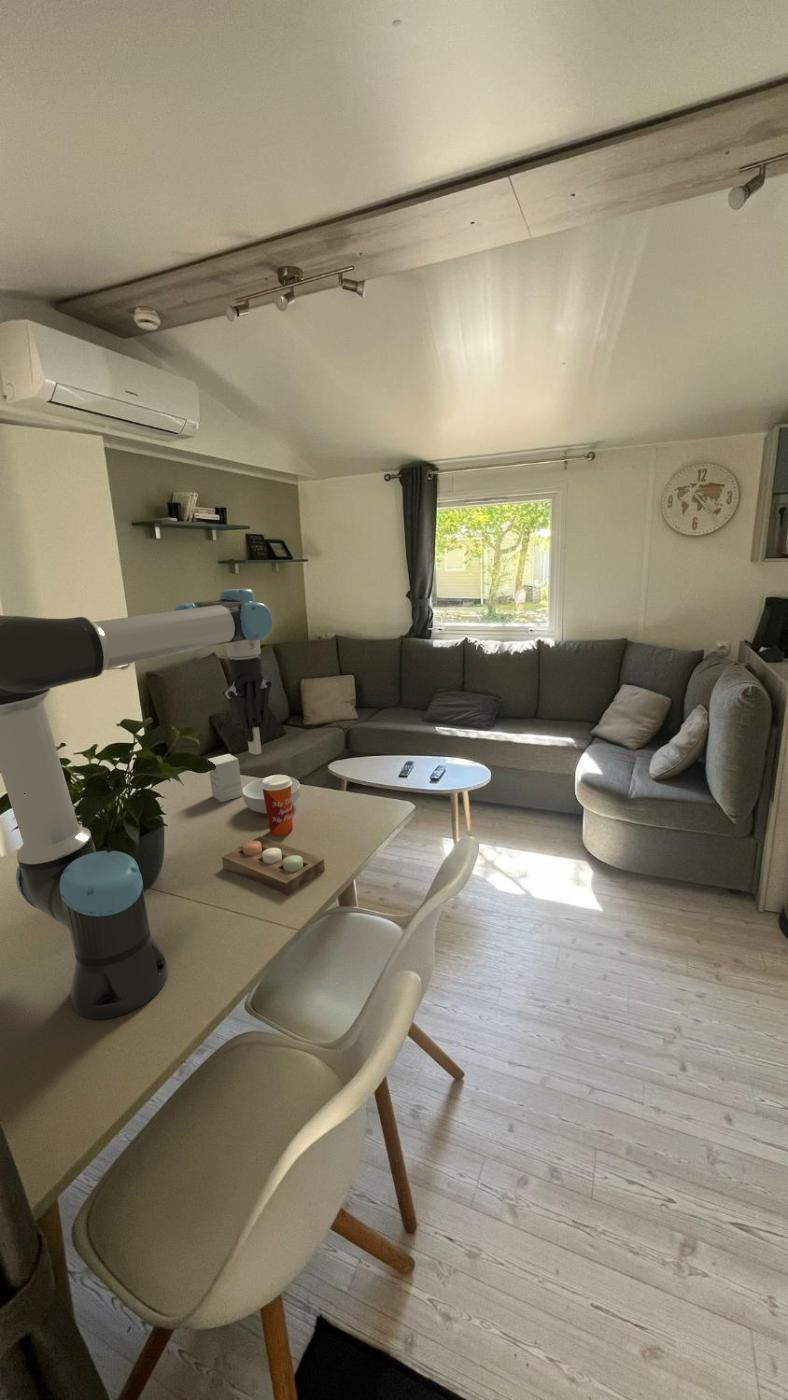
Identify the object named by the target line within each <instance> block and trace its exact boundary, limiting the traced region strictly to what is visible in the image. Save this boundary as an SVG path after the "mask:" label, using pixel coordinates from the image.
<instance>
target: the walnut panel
mask: <svg viewBox="0 0 788 1400" xmlns="http://www.w3.org/2000/svg"><path fill="white" fill-rule="evenodd" d="M251 841H259V842H261V847H262V852H260V853H258V854H257V855H255V856H253V857H249V856H246V855H244V854H243V845H241V846H238V848H236V849H234V850H232V851H230V852H228V853H226V854H224V855H223V856H221V860H222V865H223V869H225V870H228V871H230V872H231V873H234V874H236V875H239V876H241V877H244V878H246V879H248V880H250V881H253V882H255V883H258V884H260V885H262V886H264V887H267V888H270V889H271V890H273V891H276V892H278V893H281V894H283V895H285V896H289V895H291V894H292V893H294V892H295V891H297V890H298V889H299V888H301V887H302V886H304V885H305V883H306V884H307V883H308V882H310V881H312V880H313V879H314V878H316V877H317V876H319V875H320V874H321V872H322V871H323V872H324V870H326V867H325V859H324V858H323V857H319V856H316V855H314V854H311V853H309V852H306V851H303V850H300V849H299V848H298V849H297V848H294V847H292V846H289V845H286V844H283V843H280V842H278V841H276V840H275V841H274V840H272V839H269V838H266V837H263V836H258V837H256V838H254V839H252V840H251ZM269 848H279V849H280V850H281V854H282V860H280V861H278V862H277V863H275V864H273V865H269V864H267V863H264V862H263V856H262V853H263V851H265V850H267V849H269ZM293 855H297V856H301V857H302V860H303V868H302V869H300V870H299V871H297V872H295V873H294V874H292V873H290V872H287V871H285V870H284V866H283V860H284V859H285V858H287V857H289V856H293ZM323 872H322V873H323ZM319 873H320V874H319ZM318 874H319V875H318ZM315 876H316V877H315Z"/></svg>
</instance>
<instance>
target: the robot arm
mask: <svg viewBox="0 0 788 1400" xmlns="http://www.w3.org/2000/svg"><path fill="white" fill-rule="evenodd" d="M219 595H220V597H219V599H217V600H209V601H208V600H206V601H196V602H195V601H194V602H192V601H189V602H187V603H182V604H179V605H177V606H176V607H175V608H174V610H173V611H166V612H165V611H164V612H157V613H150V614H143V615H135V616H127V617H120V618H111V619H106V620H105V619H104V620H97V621H92V620H91V619H89V618H88V617H86V616H78V617H69V618H45V617H43V618H42V617H31V616H21V615H0V774H1V778H2V781H3V783H4V787H5V790H6V793H7V796H8V799H9V802H10V805H11V808H12V812H13V815H14V818H15V822H16V824H17V828H18V830H19V834H20V837H21V840H22V845H21V847H20V848H19V849H18V851H17V852H16V860H17V863H18V866H17V867H16V868H17V869H16V872H15V873H16V874H15V882H16V887H17V889H18V892H19V893H20V895H21V897H22V898H23V899H24V900H25V901H26V902H27V903H28V904H30V906H32V907H34V908H36V909H37V910H40V911H41V912H43V913H44V914H46V915H48V916H49V917H51V919H52V918H53V919H54V920H56V921H57V922H59V923H60V924H62V925H63V926H65V927H66V928H67V929H68V931H69V933H70V937H71V943H72V946H73V951H74V957H75V966H74V970H73V975H72V977H73V978H72V984H71V987H70V988H71V989H70V998H71V1002H72V1007H73V1009H74V1011H75V1013H77V1014H78V1015H79V1016H80V1017H82V1018H86V1019H91V1020H106V1019H113V1018H116V1017H117V1018H118V1017H120V1016H123V1015H126V1014H129V1013H130V1012H131V1013H132V1012H133V1011H135V1010H137V1009H138V1008H140V1007H142V1006H143V1005H145V1004H146V1003H149V1002H150V1000H152V999H153V998H154V997H156V995H157V994H158V993H159V992H160V991H161V990H162V989H163V987H164V985H165V984H166V982H167V980H168V976H169V969H168V964H167V959H166V956H165V954H164V953H163V951H162V949H161V948H160V947H159V945H158V944H157V942H156V941H155V939H154V937H153V936H152V934H151V929H150V923H149V916H148V910H147V905H146V899H145V893H144V892H145V891H144V884H143V882H144V881H143V877H142V874H141V872H140V868H139V866H138V863H137V861H136V860H135V858H133V856H131V855H129V854H127V853H125V852H123V851H122V852H121V851H117V850H111V851H109V852H108V851H107V850H101V851H97V850H96V846H95V844H94V840H93V836H92V834H91V831H90V829H89V828H87V827H84V826H80V825H79V821H78V819H77V816H76V815H77V814H76V813H75V809H74V804H73V803H72V799H71V798H72V797H71V795H70V791H69V787H68V784H67V780H66V778H65V774H64V770H63V767H62V763H61V760H60V756H59V753H58V750H57V745H56V742H55V739H54V735H53V732H52V728H51V725H50V721H49V718H48V714H47V711H46V707H45V704H44V701H45V700H46V698H47V696H48V695H49V693H50V692H51V689H53V688H57V687H60V686H64V685H68V684H73V683H77V682H80V681H84V680H89V679H93V678H97V677H100V676H101V675H102V674H103V672H104V671H105V669H108V668H114V667H119V666H124V665H127V664H128V665H129V664H133V663H138V662H143V661H148V660H152V659H157V658H161V657H167V656H172V655H176V654H179V653H181V654H182V653H186V652H190V651H195V650H199V649H203V648H209V647H213V646H218V645H224V644H225V645H226V646H225V647H226V655H227V657H228V658H229V659H228V661H227V662H228V670H229V674H230V676H231V681H230V687H229V688H228V689H227V690H226V689H225V690H223V692H222V695H223V696H224V697H225V698H226V699H227V703H228V705H229V708H230V711H231V714H232V717H233V719H234V722H235V726H236V727H237V728H240V729H243V730H244V737H245V741H246V742H247V744H248V754H253V755H259V754H262V744H261V739H262V727H263V726H264V725H265V724H264V722H267V721H268V712H269V698H270V690H271V688H272V685H273V684H272V681H270V680H265V679H264V676H263V674H262V672H263V661H262V659H263V658H262V657H261V656H260V654H261V653H262V651H261V645H260V644H261V642H260V641H262V640H264V639H266V638H267V637H268V636H269V635H270V633H271V632H272V629H273V625H274V622H273V621H274V620H273V615H272V611H271V610H270V608H269V607H268V606H267V605H266V604H264V603H262V602H256V597H255V593H254V591H253V589H251V588H233V589H223V590H221V591H220V594H219ZM24 793H25V794H24Z"/></svg>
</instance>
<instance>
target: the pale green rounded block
mask: <svg viewBox="0 0 788 1400" xmlns="http://www.w3.org/2000/svg"><path fill="white" fill-rule="evenodd" d="M283 866H284V870H285V871H287V872H290V873H292V874H294V873H295V872H297V871H299V870H300V869H302V868H303V860H302V857H301V856H297V855H293V856H289V857H287V858H285V859H284V860H283Z"/></svg>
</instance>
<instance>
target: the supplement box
mask: <svg viewBox="0 0 788 1400" xmlns="http://www.w3.org/2000/svg"><path fill="white" fill-rule="evenodd" d="M208 760H209V761H210V762H212V763H213V764H215V766H216V769H215V770H213V771H210V772H209V771H208V772H209V777H210V778H209V779H210V786H211V793H212V797H214V798H215V799H216V800H217V801H219V802H220V803H225V802H226V801H230V800H232V799H236V798H239V797H243V795H242V790H243V786H242V779H241V770H240V763H239V758H237V757H236V756H234V755H232V754H230V753H226V754H222V755H218V756H215V757H210V758H207V761H208Z"/></svg>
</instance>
